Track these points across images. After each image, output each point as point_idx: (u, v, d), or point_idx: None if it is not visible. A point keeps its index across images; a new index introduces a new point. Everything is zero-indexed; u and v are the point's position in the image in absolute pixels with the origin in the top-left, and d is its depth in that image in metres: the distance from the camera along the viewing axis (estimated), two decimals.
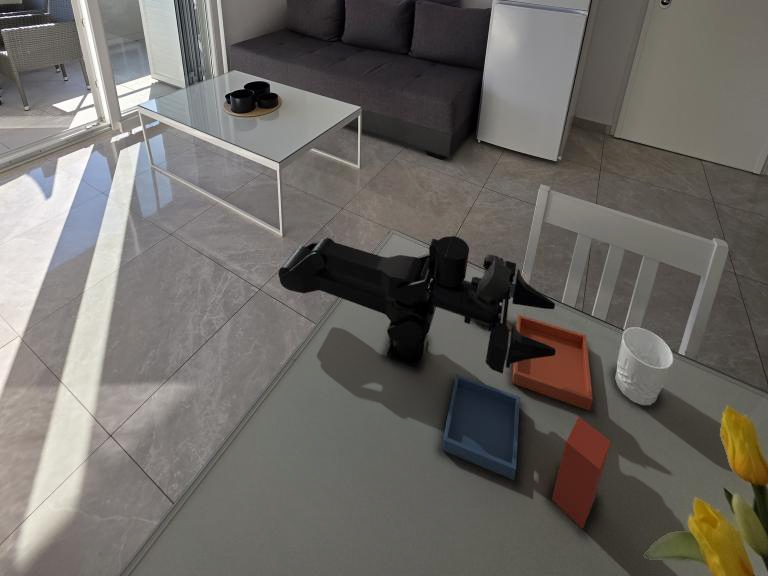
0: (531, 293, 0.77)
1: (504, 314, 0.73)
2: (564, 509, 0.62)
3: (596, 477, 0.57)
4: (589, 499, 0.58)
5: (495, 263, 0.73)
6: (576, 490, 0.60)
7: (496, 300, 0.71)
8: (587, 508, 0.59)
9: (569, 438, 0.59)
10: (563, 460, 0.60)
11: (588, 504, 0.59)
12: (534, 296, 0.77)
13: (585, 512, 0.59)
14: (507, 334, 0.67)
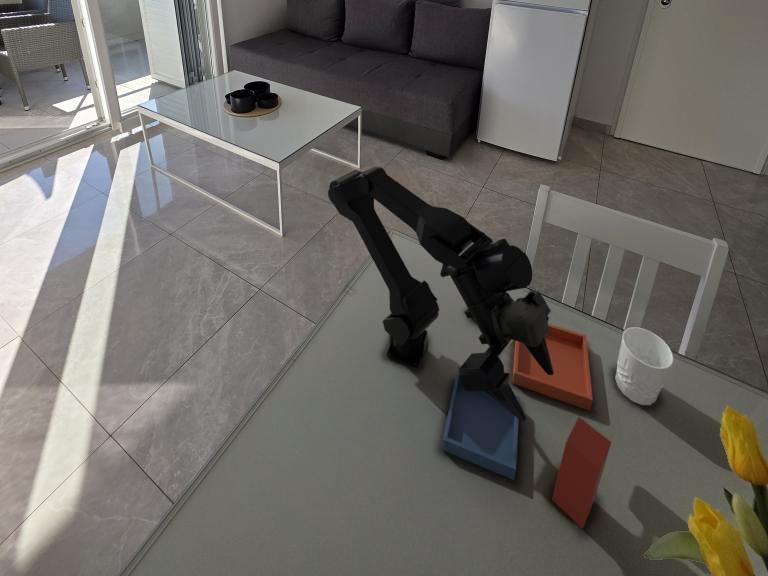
0: (541, 347, 0.68)
1: None
2: (564, 509, 0.62)
3: (596, 477, 0.57)
4: (589, 499, 0.58)
5: (541, 313, 0.62)
6: (576, 490, 0.60)
7: (513, 338, 0.62)
8: (587, 508, 0.59)
9: (569, 438, 0.59)
10: (563, 460, 0.60)
11: (588, 504, 0.59)
12: (541, 350, 0.68)
13: (585, 512, 0.59)
14: (499, 378, 0.59)
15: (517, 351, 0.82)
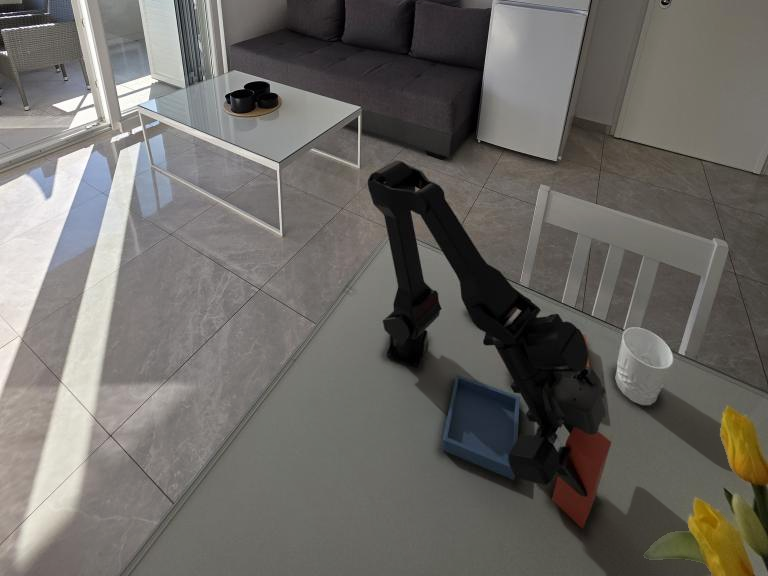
0: None
1: None
2: (564, 509, 0.62)
3: (596, 477, 0.57)
4: (589, 499, 0.58)
5: (598, 395, 0.58)
6: None
7: (566, 422, 0.58)
8: (587, 507, 0.59)
9: (569, 438, 0.59)
10: None
11: (588, 504, 0.59)
12: None
13: (585, 512, 0.59)
14: (555, 468, 0.55)
15: None
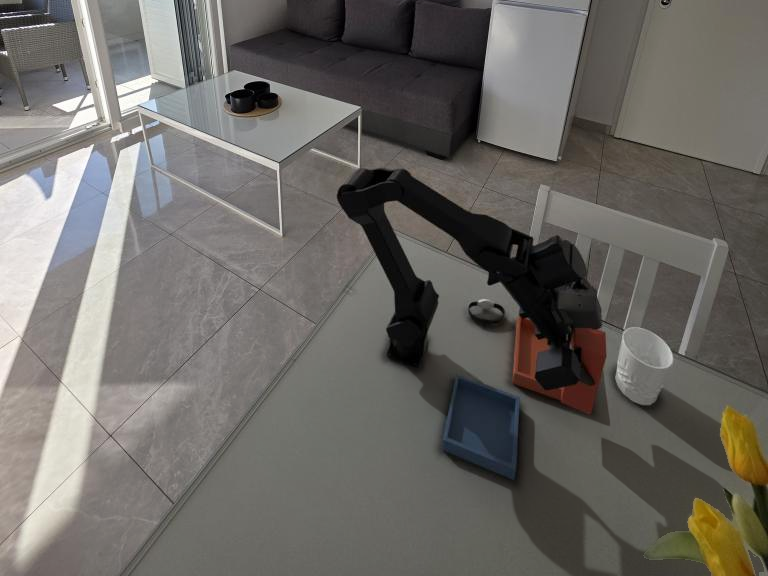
0: None
1: (561, 346, 0.66)
2: (573, 405, 0.70)
3: (603, 364, 0.65)
4: (597, 386, 0.67)
5: (595, 295, 0.66)
6: None
7: (575, 326, 0.65)
8: (595, 394, 0.67)
9: (576, 340, 0.67)
10: None
11: (596, 391, 0.67)
12: None
13: (593, 399, 0.68)
14: (578, 368, 0.62)
15: (517, 351, 0.82)
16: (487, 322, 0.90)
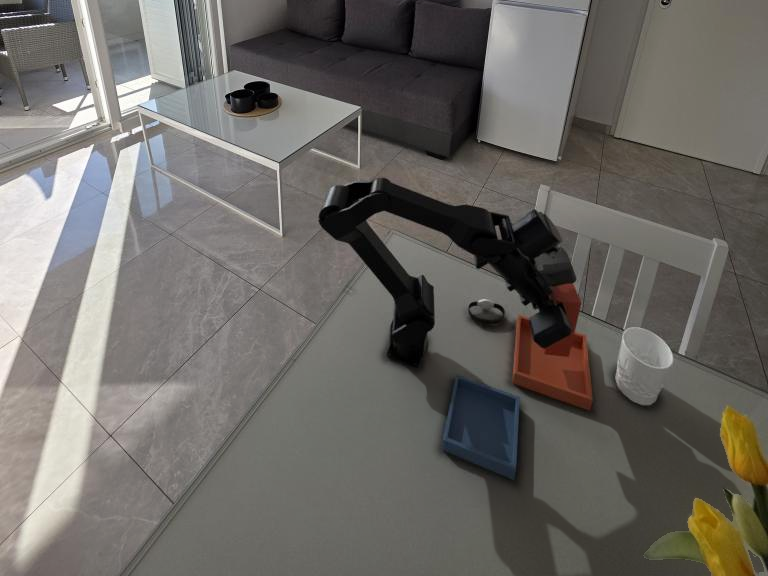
0: None
1: (545, 305, 0.75)
2: (554, 353, 0.79)
3: (579, 310, 0.76)
4: (573, 331, 0.77)
5: (566, 254, 0.76)
6: None
7: (556, 285, 0.74)
8: (572, 338, 0.78)
9: (555, 297, 0.76)
10: None
11: (573, 335, 0.78)
12: None
13: (571, 343, 0.78)
14: (567, 320, 0.70)
15: (517, 351, 0.82)
16: (487, 322, 0.90)
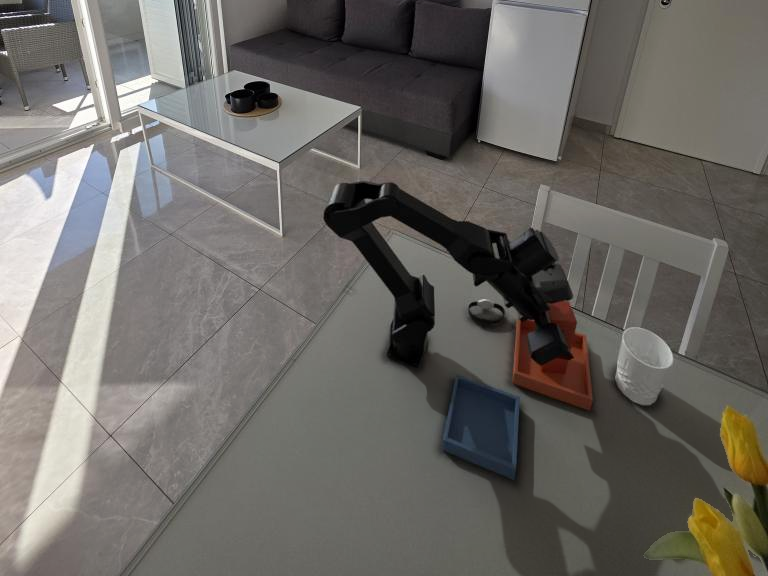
0: None
1: None
2: (551, 370, 0.81)
3: (574, 329, 0.77)
4: (570, 349, 0.79)
5: (563, 271, 0.77)
6: None
7: (553, 302, 0.75)
8: None
9: (551, 316, 0.77)
10: None
11: None
12: None
13: (567, 360, 0.79)
14: (564, 337, 0.72)
15: (517, 351, 0.82)
16: (487, 322, 0.90)
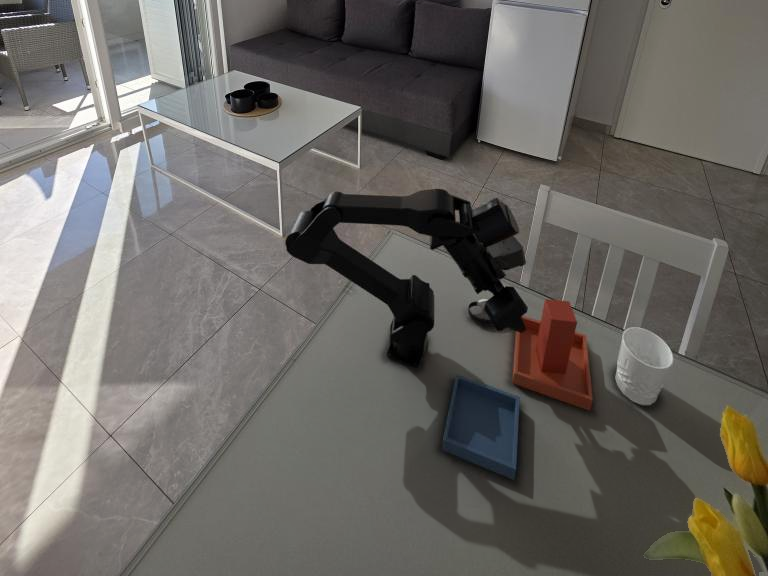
0: None
1: None
2: (551, 370, 0.81)
3: (574, 329, 0.77)
4: (570, 349, 0.79)
5: (515, 238, 0.79)
6: (560, 350, 0.79)
7: (508, 268, 0.75)
8: (568, 356, 0.79)
9: (551, 316, 0.77)
10: (549, 335, 0.78)
11: (569, 353, 0.79)
12: None
13: (567, 360, 0.79)
14: None
15: (517, 351, 0.82)
16: (487, 322, 0.90)
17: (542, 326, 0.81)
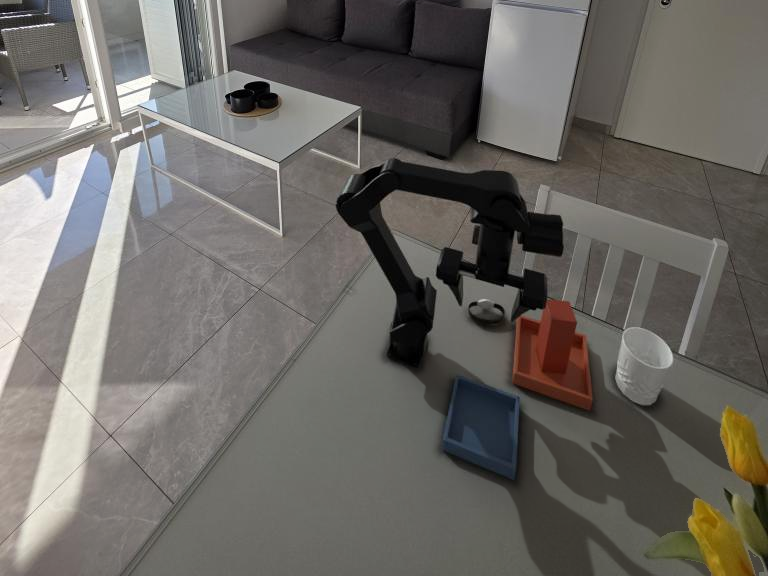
0: (462, 282, 0.80)
1: None
2: (551, 370, 0.81)
3: (574, 329, 0.77)
4: (570, 349, 0.79)
5: None
6: (560, 350, 0.79)
7: None
8: (568, 356, 0.79)
9: (551, 316, 0.77)
10: (549, 335, 0.78)
11: (569, 353, 0.79)
12: (461, 286, 0.79)
13: (567, 360, 0.79)
14: None
15: (517, 351, 0.82)
16: (487, 322, 0.90)
17: (542, 326, 0.81)
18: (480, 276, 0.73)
